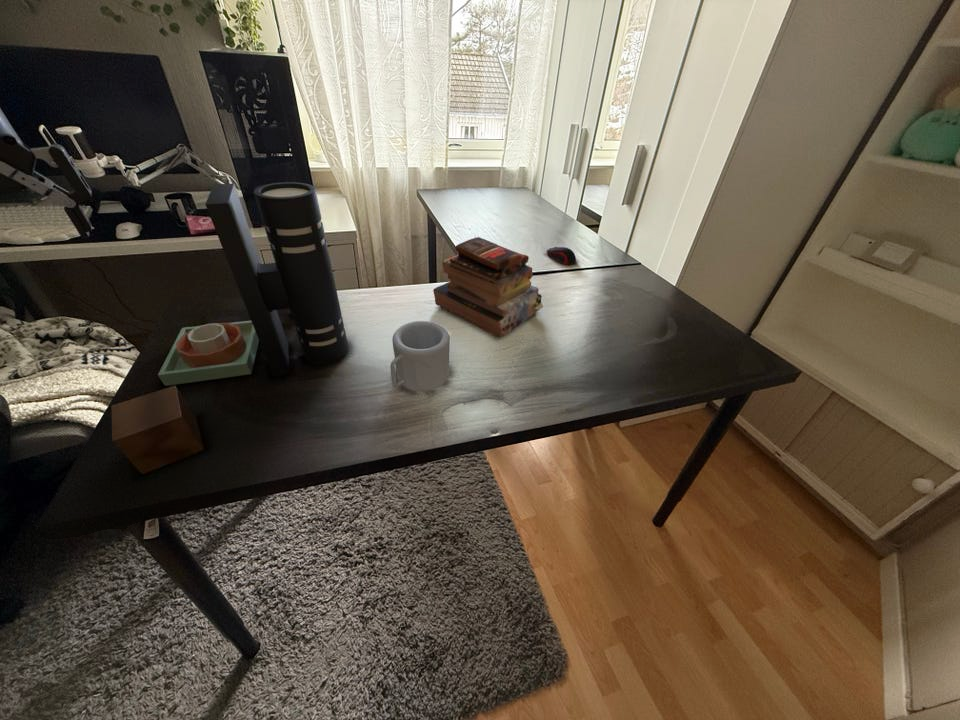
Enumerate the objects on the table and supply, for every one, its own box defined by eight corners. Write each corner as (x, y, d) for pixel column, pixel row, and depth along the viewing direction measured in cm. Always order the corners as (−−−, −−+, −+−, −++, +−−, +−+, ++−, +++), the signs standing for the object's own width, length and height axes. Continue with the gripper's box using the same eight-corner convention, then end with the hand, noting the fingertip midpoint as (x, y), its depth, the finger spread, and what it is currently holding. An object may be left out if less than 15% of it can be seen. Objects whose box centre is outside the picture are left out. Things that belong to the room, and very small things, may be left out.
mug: (421, 351, 83) (419, 313, 76) (460, 372, 78) (461, 333, 72) (374, 384, 74) (368, 344, 67) (415, 409, 69) (412, 368, 63)
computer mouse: (557, 250, 131) (559, 239, 128) (579, 262, 124) (582, 251, 121) (543, 253, 128) (545, 242, 125) (565, 266, 121) (567, 254, 119)
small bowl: (199, 363, 73) (190, 345, 71) (195, 347, 77) (185, 329, 74) (235, 353, 77) (227, 335, 74) (229, 338, 80) (221, 320, 77)
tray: (251, 374, 74) (246, 363, 72) (164, 386, 70) (157, 375, 68) (261, 330, 85) (257, 319, 84) (187, 338, 82) (181, 327, 80)
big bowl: (188, 377, 71) (180, 362, 69) (181, 347, 78) (173, 333, 76) (252, 357, 77) (246, 343, 74) (240, 331, 83) (234, 317, 81)
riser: (142, 474, 56) (111, 441, 51) (139, 439, 61) (111, 405, 56) (204, 449, 60) (181, 416, 55) (196, 418, 65) (175, 385, 60)
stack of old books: (543, 314, 98) (555, 252, 87) (502, 344, 87) (510, 277, 76) (477, 284, 108) (480, 225, 97) (432, 307, 97) (431, 243, 86)
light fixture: (351, 362, 79) (317, 198, 58) (273, 377, 74) (205, 204, 53) (345, 334, 86) (313, 179, 65) (273, 346, 81) (213, 183, 60)
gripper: (33, 81, 43) (113, 223, 53) (-174, 77, 36) (-36, 242, 46) (25, 87, 38) (114, 241, 49) (-213, 85, 31) (-50, 265, 42)
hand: (41, 241), depth 47 cm, fingers open, 8 cm apart
